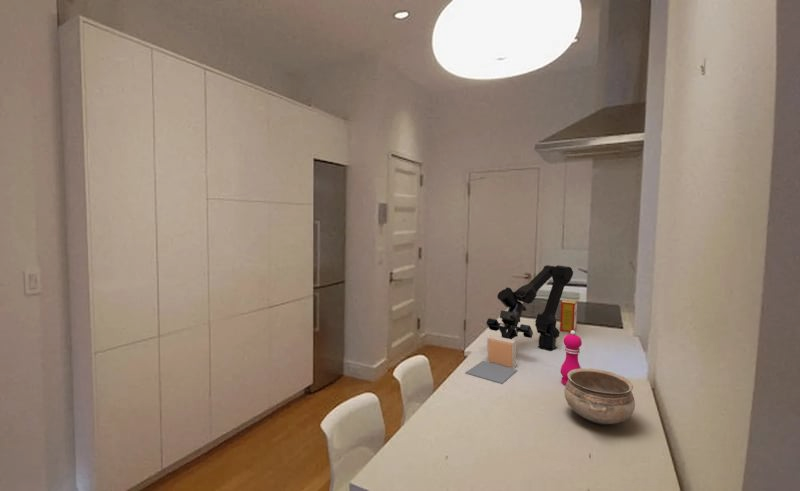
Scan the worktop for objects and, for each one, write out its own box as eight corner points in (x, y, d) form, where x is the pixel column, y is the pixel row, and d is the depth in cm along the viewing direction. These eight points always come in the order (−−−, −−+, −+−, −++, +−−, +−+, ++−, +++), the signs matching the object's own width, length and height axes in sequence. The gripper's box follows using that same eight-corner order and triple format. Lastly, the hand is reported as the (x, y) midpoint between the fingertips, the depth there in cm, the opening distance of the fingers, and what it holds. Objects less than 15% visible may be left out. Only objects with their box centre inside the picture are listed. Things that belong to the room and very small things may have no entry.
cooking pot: (637, 450, 101) (640, 405, 100) (560, 431, 110) (562, 390, 109) (630, 407, 124) (632, 370, 123) (566, 394, 132) (567, 360, 131)
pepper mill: (581, 381, 142) (584, 329, 141) (581, 390, 136) (584, 334, 134) (560, 378, 145) (562, 326, 144) (559, 386, 139) (561, 331, 137)
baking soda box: (573, 333, 201) (574, 303, 199) (559, 331, 204) (561, 301, 203) (576, 328, 209) (577, 299, 207) (563, 326, 212) (564, 298, 211)
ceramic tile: (490, 359, 163) (490, 335, 161) (516, 365, 156) (515, 340, 154) (487, 362, 161) (486, 337, 159) (513, 369, 154) (512, 343, 152)
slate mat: (482, 361, 161) (482, 360, 161) (517, 370, 152) (517, 369, 152) (465, 373, 149) (465, 372, 149) (502, 384, 140) (502, 382, 140)
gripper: (488, 299, 167) (476, 330, 159) (531, 306, 156) (520, 339, 148) (495, 314, 174) (484, 344, 166) (537, 321, 163) (527, 354, 155)
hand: (502, 345), depth 159 cm, fingers closed
